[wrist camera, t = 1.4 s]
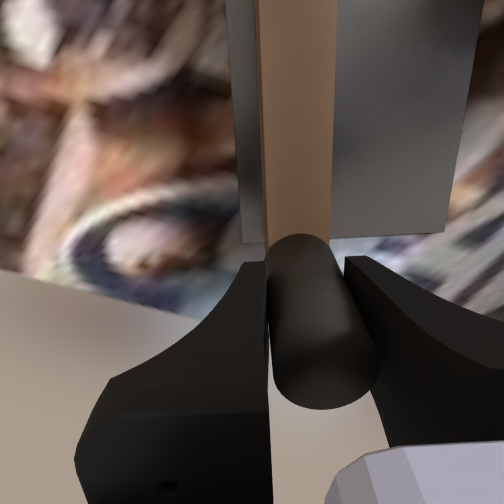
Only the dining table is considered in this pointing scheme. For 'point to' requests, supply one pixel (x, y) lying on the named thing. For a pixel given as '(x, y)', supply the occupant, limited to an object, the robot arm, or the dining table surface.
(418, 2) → the vice frame
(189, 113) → the dining table surface
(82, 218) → the dining table surface
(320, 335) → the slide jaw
